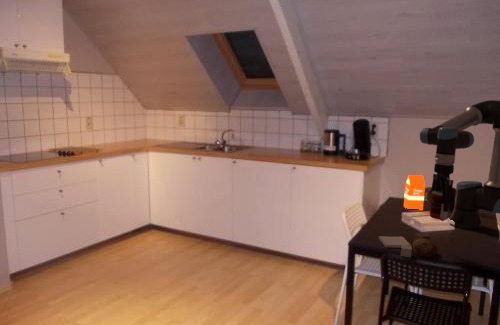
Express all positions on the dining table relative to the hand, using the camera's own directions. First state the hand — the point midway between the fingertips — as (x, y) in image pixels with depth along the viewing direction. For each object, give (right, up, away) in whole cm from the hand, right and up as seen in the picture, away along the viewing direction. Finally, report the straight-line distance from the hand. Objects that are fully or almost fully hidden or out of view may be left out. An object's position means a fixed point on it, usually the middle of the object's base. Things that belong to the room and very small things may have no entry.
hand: (439, 215), depth 186 cm
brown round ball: (-4, -14, +8) cm, 17 cm away
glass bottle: (+34, -4, +72) cm, 79 cm away
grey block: (-16, -16, -6) cm, 24 cm away
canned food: (0, -1, 0) cm, 1 cm away
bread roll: (-7, -16, -1) cm, 18 cm away
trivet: (-16, -14, +9) cm, 23 cm away
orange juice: (+15, -4, +68) cm, 70 cm away
